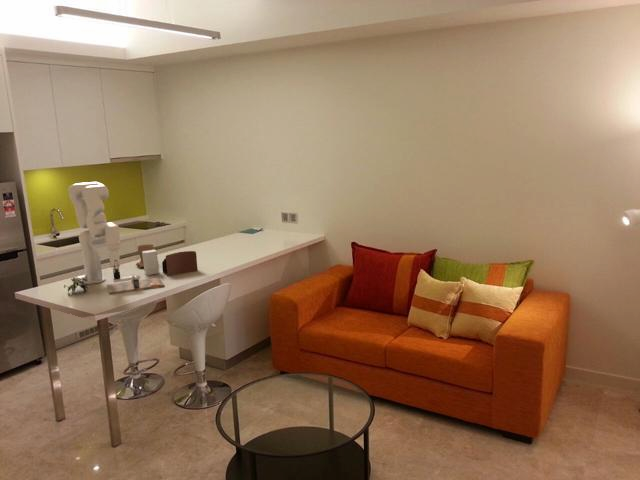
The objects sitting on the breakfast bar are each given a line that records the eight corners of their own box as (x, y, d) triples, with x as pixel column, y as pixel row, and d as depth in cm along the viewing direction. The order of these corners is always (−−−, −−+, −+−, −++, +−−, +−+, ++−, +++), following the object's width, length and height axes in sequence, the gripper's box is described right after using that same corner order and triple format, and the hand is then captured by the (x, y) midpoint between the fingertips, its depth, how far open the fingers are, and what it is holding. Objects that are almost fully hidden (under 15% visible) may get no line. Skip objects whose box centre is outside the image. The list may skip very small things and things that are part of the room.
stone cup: (150, 262, 377) (148, 241, 374) (161, 264, 370) (159, 242, 367) (131, 266, 365) (129, 245, 362) (141, 269, 358) (139, 247, 355)
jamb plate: (109, 294, 303) (108, 284, 302) (107, 286, 319) (106, 277, 318) (164, 286, 316) (163, 277, 315) (159, 279, 332) (158, 270, 331)
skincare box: (157, 271, 351) (155, 249, 348) (159, 273, 346) (157, 250, 342) (144, 273, 347) (141, 250, 344) (146, 275, 342) (143, 252, 339)
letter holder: (197, 271, 349) (196, 249, 346) (167, 276, 339) (165, 254, 336) (192, 268, 357) (191, 247, 354) (162, 273, 347) (160, 251, 344)
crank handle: (139, 277, 314) (138, 264, 312) (140, 279, 310) (139, 266, 308) (113, 280, 308) (111, 268, 307) (114, 282, 304) (112, 269, 303)
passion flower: (86, 300, 312) (94, 285, 308) (68, 302, 303) (76, 286, 299) (76, 287, 317) (84, 272, 313) (59, 288, 307) (67, 273, 303)
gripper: (105, 244, 309) (109, 275, 313) (107, 250, 294) (111, 282, 298) (119, 243, 312) (123, 274, 316) (121, 248, 297) (125, 280, 301)
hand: (117, 277), depth 307 cm, fingers open, 3 cm apart
